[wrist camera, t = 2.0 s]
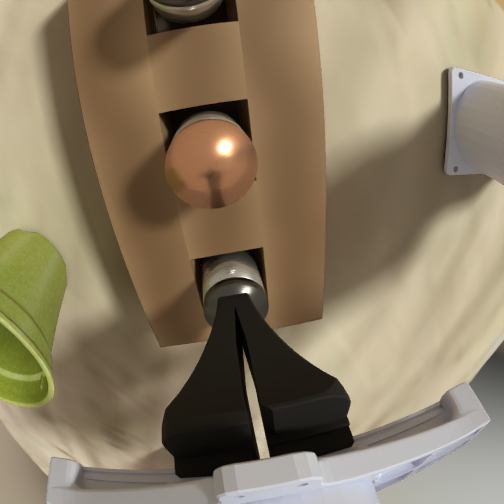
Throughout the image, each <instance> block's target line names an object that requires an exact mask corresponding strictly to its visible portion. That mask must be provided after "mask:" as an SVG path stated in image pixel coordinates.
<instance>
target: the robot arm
mask: <svg viewBox="0 0 504 504" xmlns="http://www.w3.org/2000/svg"><path fill="white" fill-rule="evenodd" d="M459 74H460V77H459ZM454 167H455V169H454ZM444 171H445V173H446V174H448V175H467V174H485V175H487V176H489V177H491V178H492V179H494V180H496V181H498V182H499V183H501V184H503V185H504V81H501V80H498V79H495V78H492V77H489V76H485V75H482V74H479V73H475V72H471V71H467V70H463V69H459V68H455V67H451V68H450V69H449V71H448V126H447V142H446V154H445V164H444ZM242 345H243V347H242ZM243 349H244V352H245V355H246V359H247V362H248V365H249V369H250V372H251V375H252V378H253V381H254V385H255V389H256V393H257V398H258V402H259V407H260V412H261V417H262V422H263V426H264V431H265V436H266V440H267V445H268V450H269V454H270V458H265V459H260V456H259V451H258V447H257V442H256V437H255V432H254V427H253V422H252V417H251V412H250V407H249V402H248V397H247V391H246V383H245V371H244V359H243ZM350 403H351V401H350V398H349V396H348V394H347V392H346V391H345V389H344V387H343V386H342V385H341V383H340V382H339V381H338V379H337V378H335V377H333V376H331V375H329V374H327V373H326V372H324V371H322V370H320V369H319V368H317V367H316V366H314V365H313V364H311V363H310V362H308V361H307V360H306V359H304V358H303V357H301V356H300V355H299V354H297V353H296V352H295V351H294V350H293V349H292V348H290V347H289V346H288V345H287V344H286V343H285V342H284V341H283V340H282V339H281V338H280V337H279V336H278V335H277V334H276V333H275V332H274V331H273V329H272V328H271V327H270V326H269V325H268V324H267V322H266V321H265V320H264V318H263V317H262V316H261V314H260V313H259V311H258V310H257V308H256V307H255V305H254V304H253V302H252V300H251V298H250V295H249V294H248V293H241V294H235V295H230V296H224V297H219V299H218V302H217V310H216V315H215V319H214V323H213V326H212V330H211V333H210V336H209V338H208V341H207V344H206V346H205V349H204V351H203V353H202V356H201V358H200V360H199V362H198V364H197V365H196V367H195V369H194V371H193V373H192V374H191V376H190V378H189V379H188V381H187V382H186V384H185V385H184V387H183V388H182V389H181V391H180V392H179V394H178V395H177V396H176V397H175V399H174V400H173V401H172V402H171V403H170V405H169V406H168V407H167V408H166V410H165V413H164V417H163V423H162V444H163V446H164V447H165V448H166V449H167V450H168V451H169V452H170V453H171V454H172V455H173V456H174V462H175V469H169V470H123V469H104V468H91V467H83V466H82V465H81V464H80V463H78V462H76V461H74V460H70V459H64V458H56V457H51V461H50V469H49V476H48V485H47V495H46V503H47V504H380V502H379V499H378V496H377V493H376V492H377V491H379V490H381V489H384V488H386V487H388V486H390V485H392V484H395V483H397V482H399V481H401V480H403V479H405V478H407V477H409V476H411V475H413V474H415V473H417V472H419V471H420V470H422V469H424V468H426V467H428V466H430V465H431V464H433V463H435V462H437V461H438V460H440V459H442V458H444V457H445V456H447V455H449V454H450V453H452V452H454V451H456V450H457V449H459V448H461V447H462V446H464V445H465V444H467V443H468V442H469V441H470V440H471V439H472V438H473V437H474V436H475V435H476V434H478V433H479V432H480V431H481V430H482V429H483V428H484V427H485V426H486V425H487V424H488V423H489V422H490V418H489V416H488V415H487V413H486V411H485V410H484V408H483V406H482V405H481V403H480V401H479V400H478V398H477V397H476V395H475V393H474V392H473V390H472V389H471V387H470V386H469V384H468V382H463V383H461V384H460V385H458V386H456V387H454V388H452V389H450V390H449V391H447V392H446V393H445V394H444V395H443V396H442V397H441V399H440V401H439V402H437V403H435V404H433V405H431V406H429V407H427V408H425V409H422V410H420V411H418V412H416V413H413V414H411V415H409V416H406V417H404V418H402V419H399V420H397V421H394V422H392V423H389V424H387V425H384V426H382V427H379V428H376V429H373V430H371V431H368V432H365V433H362V434H359V435H356V436H352V433H351V431H350V428H349V425H350V423H349V420H348V418H347V414H348V411H349V408H350Z"/></svg>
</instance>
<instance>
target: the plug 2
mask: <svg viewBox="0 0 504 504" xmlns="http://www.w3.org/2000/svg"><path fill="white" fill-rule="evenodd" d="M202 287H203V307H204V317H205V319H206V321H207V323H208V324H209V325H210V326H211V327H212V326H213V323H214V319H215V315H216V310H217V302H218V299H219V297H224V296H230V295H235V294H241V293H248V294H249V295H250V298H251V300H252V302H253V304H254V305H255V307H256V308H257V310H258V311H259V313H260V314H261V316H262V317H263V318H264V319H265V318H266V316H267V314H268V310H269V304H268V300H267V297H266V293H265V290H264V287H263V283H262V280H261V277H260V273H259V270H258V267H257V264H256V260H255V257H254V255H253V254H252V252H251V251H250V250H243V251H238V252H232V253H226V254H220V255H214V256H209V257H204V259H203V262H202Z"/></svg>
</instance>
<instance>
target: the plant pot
mask: <svg viewBox="0 0 504 504" xmlns="http://www.w3.org/2000/svg"><path fill="white" fill-rule="evenodd" d="M66 286H67V277H66V267H65V263H64V261H63V259H62V257H61V255H60V253H59V252H58V251H57V249H56V248H55V247H54V246H53V245H52V244H51V243H50V242H49V241H48V240H47V239H46V238H44V237H43V236H42V235H40V234H38V233H35V232H28V231H22V230H19V229H17V230H13V231H11V232H9V233H7V234H6V235H5V236H3V237H2V238H1V239H0V400H2V401H4V402H7V403H9V404H13V405H17V406H21V407H31V408H32V407H34V408H35V407H42V406H44V405H47V404H48V403H49V402H50V401H51V400H52V399H53V396H54V392H55V381H54V377H53V374H52V371H51V370H52V356H51V350H52V345H53V340H54V335H55V330H56V325H57V321H58V316H59V312H60V308H61V304H62V300H63V297H64V293H65V289H66Z"/></svg>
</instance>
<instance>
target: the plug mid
mask: <svg viewBox="0 0 504 504" xmlns="http://www.w3.org/2000/svg"><path fill="white" fill-rule="evenodd" d="M257 169H258V158H257V153H256V150H255V147H254V145H253V143H252V142H251V140H250V139H249V137H248V136H247V135H246V134H245V132H244V131H243V130H242V129H241V128H240V126H239V125H238V124H237V123H236V122H235V121H234V120H233V119H232V118H231V117H230V116H228V115H226V114H224V113H222V112H219V111H213V110H207V111H201V112H197V113H195V114H193V115H191V116H189V117H188V118H186V119H185V120H184V121H183V122H182V124H181V125H180V126H179V128H178V129H177V132H176V134H175V136H174V138H173V140H172V142H171V144H170V146H169V149H168V151H167V154H166V158H165V174H166V178H167V181H168V183H169V186H170V187H171V189H172V190H173V192H174V193H175V194H176V195H177V196H178V197H179V198H180V199H181V200H183V201H184V202H186V203H188V204H189V205H192V206H194V207H198V208H203V209H217V208H222V207H226V206H228V205H231V204H233V203H235V202H236V201H238V200H239V199H240V198H242V197H243V196H244V195H245V194H246V193H247V192H248V190H249V189H250V188H251V186H252V184H253V182H254V180H255V177H256V174H257Z"/></svg>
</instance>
